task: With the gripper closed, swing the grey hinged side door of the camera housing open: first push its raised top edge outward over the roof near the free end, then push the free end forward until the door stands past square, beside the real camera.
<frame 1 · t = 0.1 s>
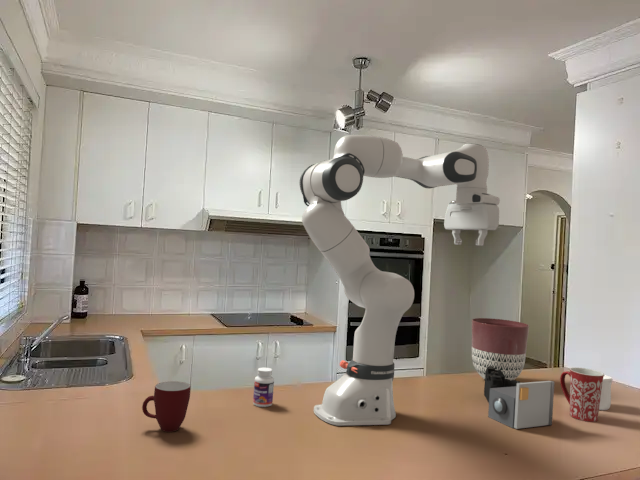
hand: (468, 245, 153), 48 cm above the table, fingers open, 8 cm apart
door: (535, 404, 137), point 6 cm above the table, hinge at 0.0°
housing: (517, 421, 141), on the table
mug 2: (578, 416, 150), on the table
mug: (164, 429, 119), on the table
pill bottle: (262, 405, 141), on the table
planter: (496, 382, 184), on the table
camera: (501, 402, 160), on the table
cup: (592, 406, 161), on the table
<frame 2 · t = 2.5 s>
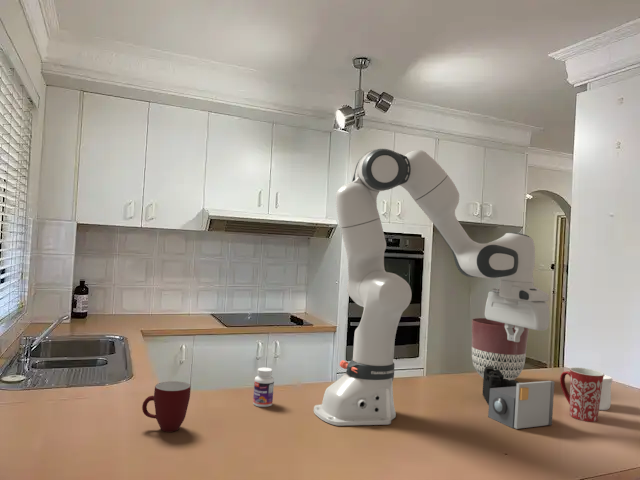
hand: (513, 341, 142), 22 cm above the table, fingers closed
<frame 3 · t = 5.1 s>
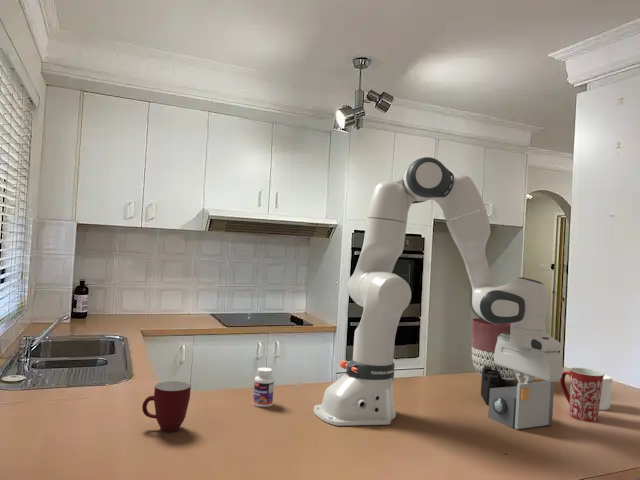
hand: (524, 389, 137), 10 cm above the table, fingers closed
door: (535, 404, 136), point 6 cm above the table, hinge at 1.1°, touching gripper
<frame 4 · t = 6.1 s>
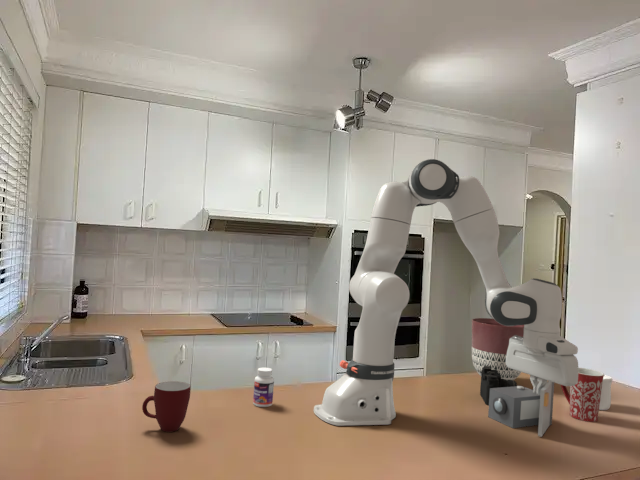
hand: (537, 393, 134), 10 cm above the table, fingers closed
door: (547, 407, 134), point 6 cm above the table, hinge at 31.8°, touching gripper
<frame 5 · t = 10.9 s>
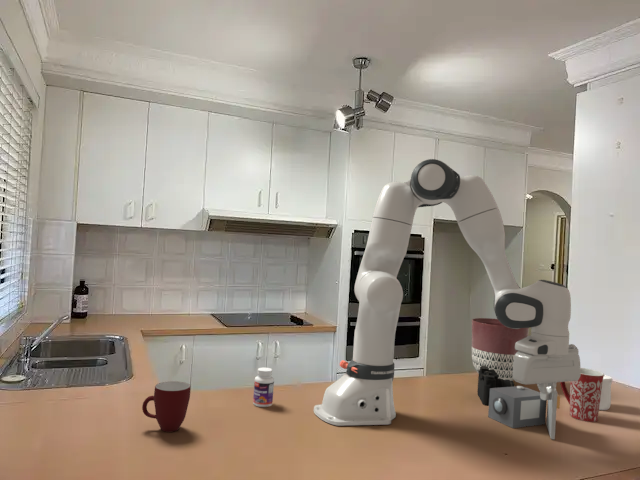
hand: (545, 399, 129), 10 cm above the table, fingers closed
door: (552, 408, 134), point 6 cm above the table, hinge at 46.1°, touching gripper
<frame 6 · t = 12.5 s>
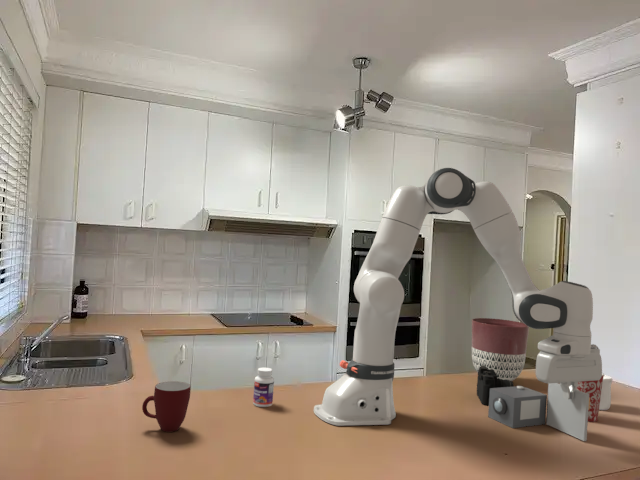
hand: (568, 398, 132), 10 cm above the table, fingers closed
door: (567, 409, 134), point 6 cm above the table, hinge at 86.3°, touching gripper
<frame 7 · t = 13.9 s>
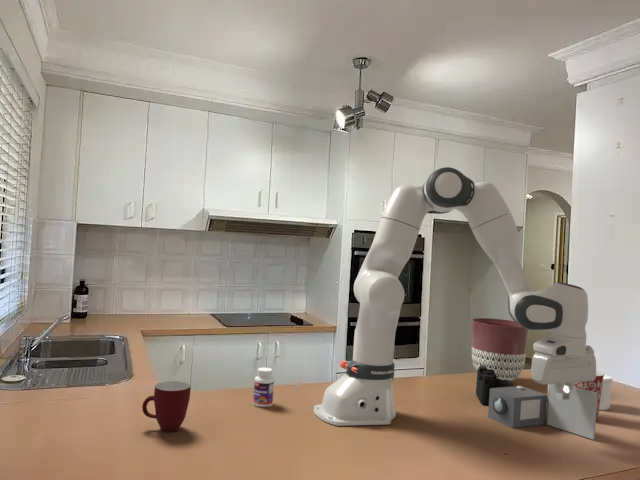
hand: (562, 399, 132), 9 cm above the table, fingers closed
door: (570, 408, 135), point 6 cm above the table, hinge at 103.5°
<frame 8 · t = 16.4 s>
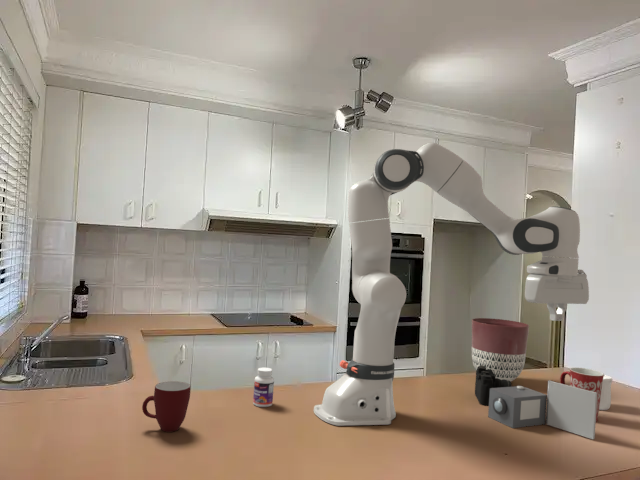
hand: (556, 320, 135), 29 cm above the table, fingers closed
at the end: door at +104° (first picture: +0°) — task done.
